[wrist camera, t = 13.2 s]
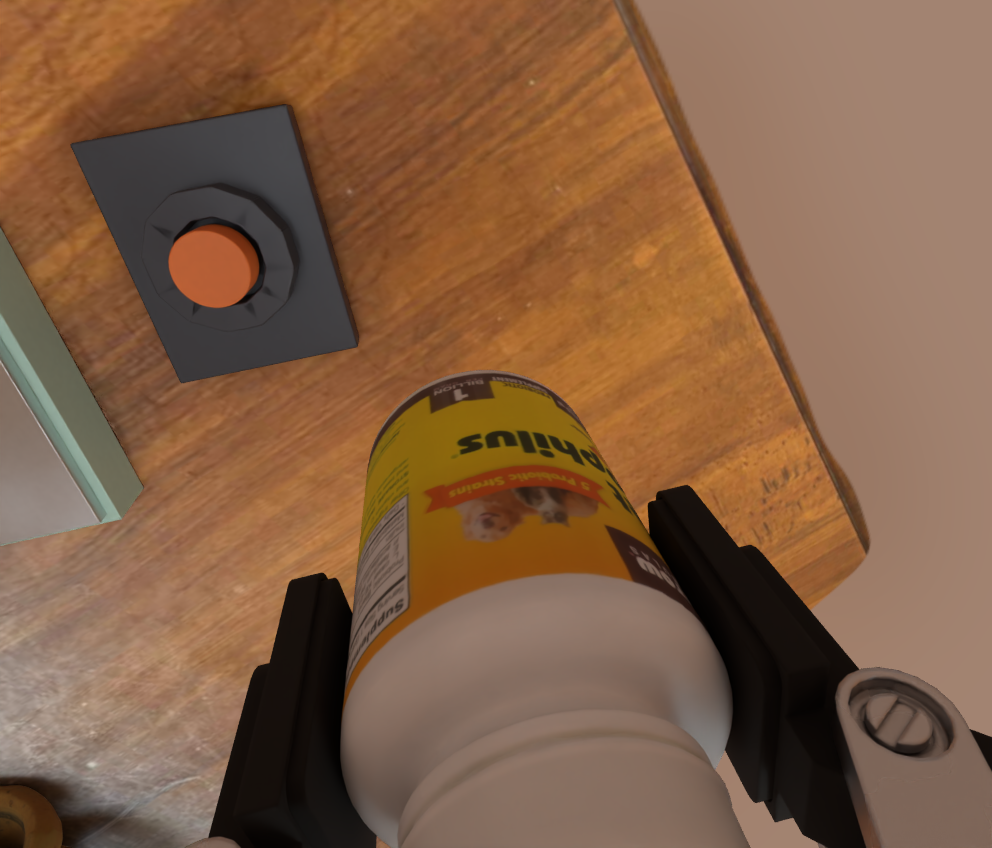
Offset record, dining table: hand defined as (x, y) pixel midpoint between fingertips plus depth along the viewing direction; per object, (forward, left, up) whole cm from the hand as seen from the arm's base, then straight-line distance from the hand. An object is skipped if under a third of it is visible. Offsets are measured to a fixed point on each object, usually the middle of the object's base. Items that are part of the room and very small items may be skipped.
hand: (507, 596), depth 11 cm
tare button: (-4, -9, -20) cm, 22 cm away
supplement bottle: (0, 0, -5) cm, 5 cm away
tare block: (-4, -9, -22) cm, 24 cm away
